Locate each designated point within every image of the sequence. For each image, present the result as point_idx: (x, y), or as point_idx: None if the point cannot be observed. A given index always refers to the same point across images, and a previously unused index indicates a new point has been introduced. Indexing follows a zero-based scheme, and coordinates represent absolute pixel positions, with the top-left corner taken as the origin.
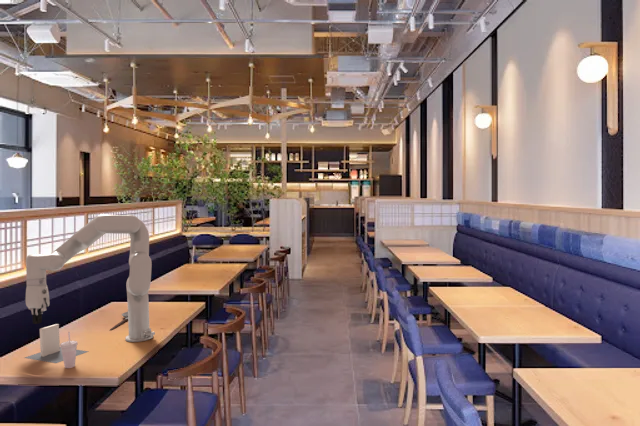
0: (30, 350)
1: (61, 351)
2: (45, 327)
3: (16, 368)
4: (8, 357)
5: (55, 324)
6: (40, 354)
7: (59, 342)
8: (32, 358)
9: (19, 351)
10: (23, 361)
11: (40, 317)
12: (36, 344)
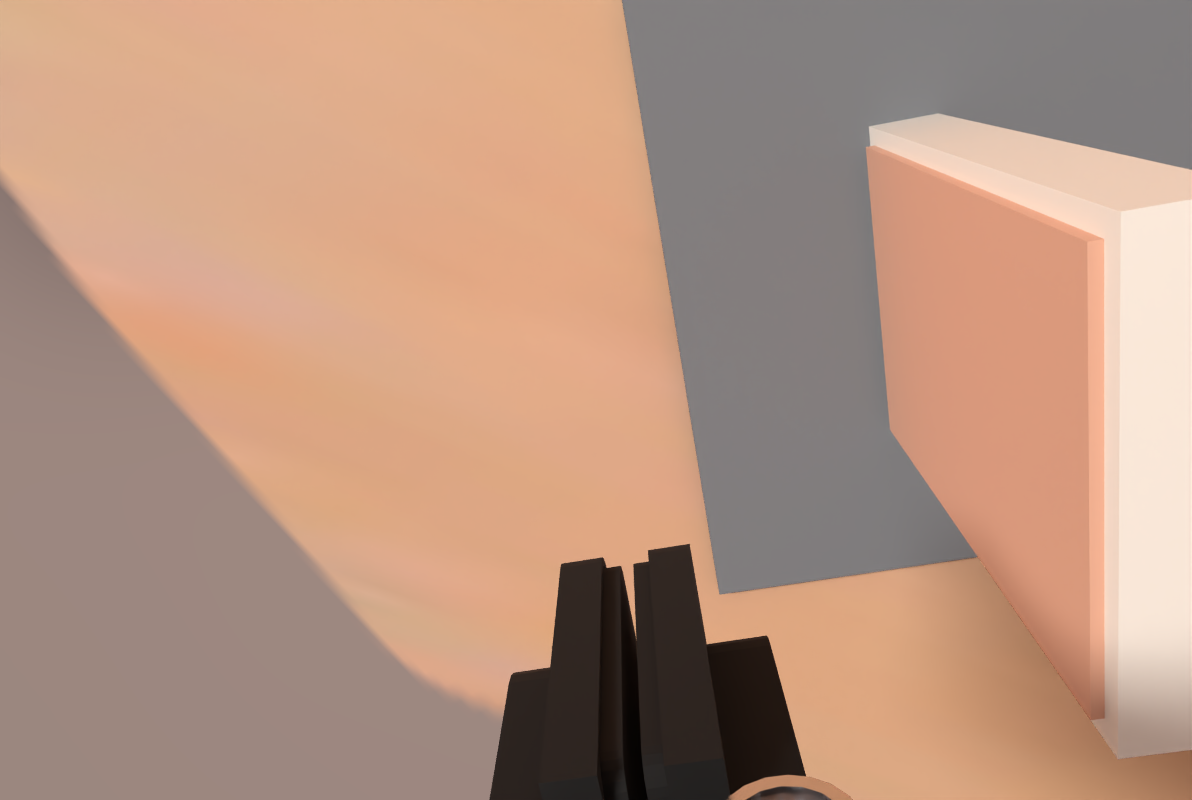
0: (357, 346)
1: (996, 114)
2: (1168, 620)
3: (1038, 796)
4: (448, 661)
5: (1146, 259)
6: (802, 398)
7: (999, 129)
8: (881, 550)
9: (262, 460)
10: (839, 641)
11: (798, 749)
12: (39, 108)
